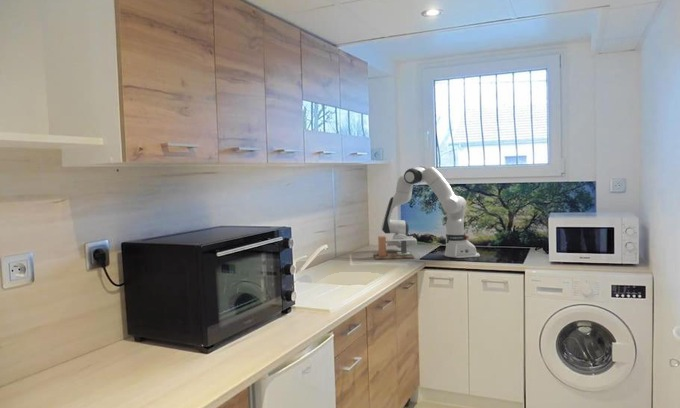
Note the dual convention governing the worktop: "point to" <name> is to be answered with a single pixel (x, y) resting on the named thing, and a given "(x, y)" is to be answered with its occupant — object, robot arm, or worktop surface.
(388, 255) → the board
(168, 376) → the worktop surface
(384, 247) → the block
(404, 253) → the grey upright piece
